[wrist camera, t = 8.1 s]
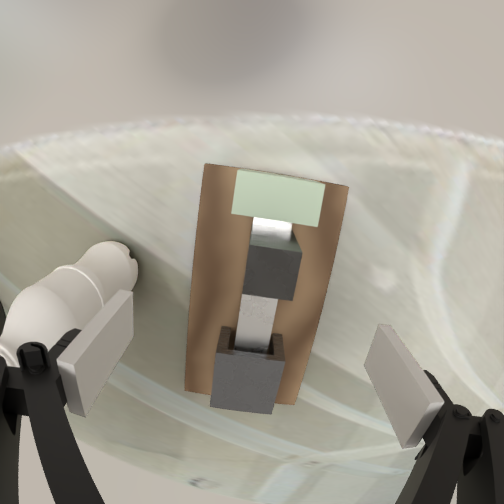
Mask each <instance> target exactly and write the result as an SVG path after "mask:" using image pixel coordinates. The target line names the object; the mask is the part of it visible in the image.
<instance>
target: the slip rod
mask: <svg viewBox="0 0 504 504" xmlns="http://www.w3.org/2000/svg"><path fill="white" fill-rule="evenodd" d="M291 228H292V223H289V222H283V221H277V220H270V219H264V218H257V217H254V218H253V224H252V226H251V233H250V240H249V246H248V253H247V259H246V267H245V274H244V282H243V290H242V297H241V304H240V310H239V317H238V324H237V330H236V337H235V344H234V350H237V351H244V352H251V353H259V354H267V351H268V346H269V341H270V337H271V332H272V327H273V322H274V317H275V312H276V307H277V302H278V299H280V300H288V301H293V297H294V293H295V288H296V283H297V278H298V273H299V269H300V264H301V259H302V254H303V252H302V250H301V248H300V246H299V243H298V241H297V239H296V237H295V235H294V232H293V230H291Z"/></svg>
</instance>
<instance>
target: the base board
mask: <svg viewBox="0 0 504 504" xmlns="http://www.w3.org/2000/svg"><path fill="white" fill-rule="evenodd" d="M239 169H241V168H237V167H229V166H222V165H214V164H205V165H204V172H203V180H202V188H201V196H200V204H199V212H198V221H197V230H196V240H195V250H194V260H193V270H192V282H191V294H190V306H189V320H188V335H187V351H186V370H185V391H190V392H195V393H201V394H207V395H211V391H212V382H213V373H214V364H215V355H216V349H217V345H218V340H219V335H220V331H221V326H227V327H231V332H230V340H229V347H228V349H230V350H234V344H235V337H236V330H237V324H238V317H239V310H240V304H241V297H242V290H243V282H244V274H245V267H246V259H247V253H248V246H249V240H250V233H251V226H252V224H253V218H254V217H250V216H244V215H237V214H231V212H232V205H233V197H234V190H235V183H236V176H237V170H239ZM242 169H244V168H242ZM249 170H251V169H249ZM256 171H258V170H256ZM262 172H264V171H262ZM269 173H271V172H269ZM275 174H277V173H275ZM281 175H283V174H281ZM287 176H289V175H287ZM293 177H295V176H293ZM299 178H300V177H299ZM304 179H306V178H304ZM310 180H312V179H310ZM315 181H317V180H315ZM318 182H320V183H323V184H325V190H324V195H323V201H322V206H321V212H320V217H319V222H318V227H314V226H308V225H302V224H295V223H292V228H291V230H293V232H294V235H295V237H296V239H297V241H298V243H299V246H300V248H301V250H302V252H303V254H302V259H301V264H300V269H299V273H298V278H297V283H296V288H295V293H294V297H293V301H288V300H280V299H278V302H277V307H276V312H275V317H274V322H273V327H272V332H271V337H270V341H269V346H268V351H267V355H268V353H269V348H270V343H271V339H272V334H273V333H278V334H282V337H283V345H284V354H285V365H284V369H283V373H282V377H281V381H280V384H279V388H278V392H277V396H276V399H275V403H277V404H289V405H294V404H295V401H296V398H297V395H298V392H299V389H300V385H301V382H302V379H303V376H304V372H305V369H306V366H307V362H308V359H309V355H310V352H311V348H312V345H313V341H314V338H315V334H316V330H317V327H318V323H319V319H320V315H321V312H322V308H323V304H324V300H325V296H326V292H327V288H328V284H329V280H330V275H331V271H332V267H333V262H334V258H335V254H336V249H337V245H338V240H339V235H340V230H341V226H342V221H343V216H344V211H345V206H346V200H347V195H348V190H349V187H347V186H343V185H338V184H333V183H328V182H322V181H318Z"/></svg>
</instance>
